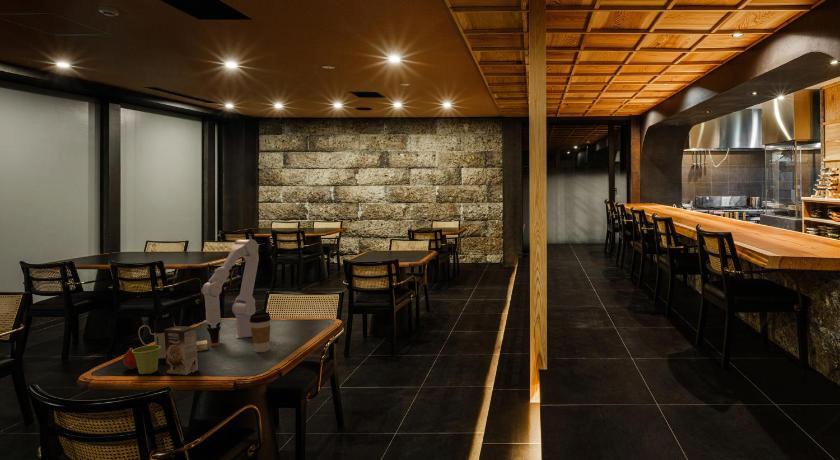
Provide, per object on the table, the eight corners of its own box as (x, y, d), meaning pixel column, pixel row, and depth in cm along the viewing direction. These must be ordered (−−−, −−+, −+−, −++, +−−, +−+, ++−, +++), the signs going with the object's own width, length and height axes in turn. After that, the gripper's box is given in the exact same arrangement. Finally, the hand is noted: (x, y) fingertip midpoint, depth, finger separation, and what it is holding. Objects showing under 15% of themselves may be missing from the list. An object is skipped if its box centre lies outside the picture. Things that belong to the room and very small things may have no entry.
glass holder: (181, 354, 218) (179, 318, 217) (144, 363, 208) (141, 325, 207) (173, 350, 224) (170, 315, 223) (136, 358, 214) (134, 321, 213)
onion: (128, 366, 204) (126, 346, 203) (143, 365, 204) (142, 345, 204) (120, 371, 198) (119, 350, 198) (137, 370, 198) (135, 349, 198)
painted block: (220, 342, 235) (219, 331, 234) (220, 344, 231) (219, 333, 230) (210, 343, 233) (209, 332, 233) (210, 346, 229) (209, 334, 229)
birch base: (207, 346, 229) (206, 340, 229) (207, 350, 224) (207, 343, 223) (192, 349, 227) (191, 342, 227) (192, 352, 221) (191, 345, 221)
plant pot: (143, 377, 190) (141, 353, 190) (128, 373, 195) (126, 350, 195) (167, 369, 198) (165, 346, 198) (152, 366, 203) (151, 343, 203)
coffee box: (166, 373, 194) (162, 329, 193) (179, 367, 200) (176, 325, 199) (185, 375, 191) (182, 330, 190) (199, 369, 197) (196, 326, 196)
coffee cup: (276, 347, 222) (274, 312, 221) (264, 353, 214) (262, 316, 213) (259, 346, 225) (257, 311, 224) (246, 352, 217) (244, 316, 216)
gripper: (203, 307, 236) (205, 338, 237) (202, 314, 223) (204, 346, 224) (220, 306, 239) (222, 336, 240) (220, 312, 225) (222, 344, 226)
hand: (214, 341), depth 232 cm, fingers open, 7 cm apart
